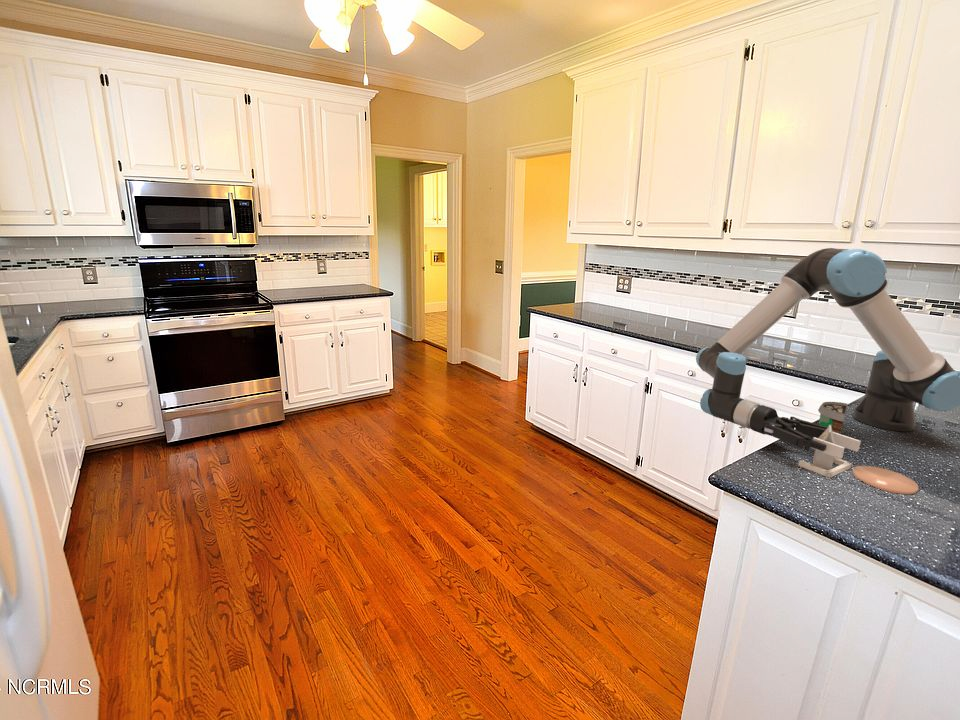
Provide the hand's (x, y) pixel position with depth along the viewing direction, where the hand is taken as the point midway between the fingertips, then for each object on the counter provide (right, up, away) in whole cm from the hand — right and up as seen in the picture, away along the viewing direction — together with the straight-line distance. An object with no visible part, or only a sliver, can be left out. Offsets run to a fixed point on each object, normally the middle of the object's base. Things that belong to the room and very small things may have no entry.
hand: (850, 449), depth 114 cm
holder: (-3, -5, +6) cm, 8 cm away
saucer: (+7, -7, -1) cm, 10 cm away
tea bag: (-3, -5, +6) cm, 8 cm away
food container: (+10, -1, +23) cm, 25 cm away
